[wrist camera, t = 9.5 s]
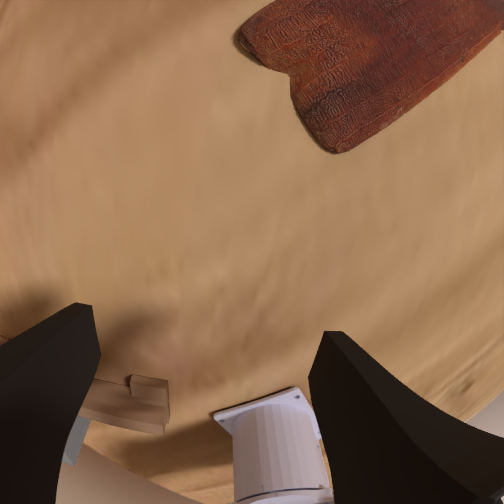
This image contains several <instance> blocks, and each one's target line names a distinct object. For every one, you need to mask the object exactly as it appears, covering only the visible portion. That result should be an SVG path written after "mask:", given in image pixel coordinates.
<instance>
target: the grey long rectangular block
mask: <svg viewBox="0 0 504 504" xmlns="http://www.w3.org/2000/svg"><path fill="white" fill-rule="evenodd" d="M90 421H91V419H87V418H84V417H81V416H79V414H78V415H77V417H76V420H75V422H74V424H73V427H72V429H71V431H70V434H69V437H68V440H67V443H66V446H65V450H64V454H63V458H62V462H64V463H67V464H70V465H73V466H75V463H76V460H77V458H78V455H79V452H80V449H81V446H82V443H83V440H84V437H85V435H86V432H87V429H88V427H89V424H90Z"/></svg>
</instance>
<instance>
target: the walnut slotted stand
mask: <svg viewBox="0 0 504 504" xmlns="http://www.w3.org/2000/svg"><path fill="white" fill-rule="evenodd" d="M7 341H9V339H7V338H4V337H2V336H0V345H2V344H4V343H6V342H7ZM78 414H79V416H81V417H84V418H87V419H91V420H94V421H98V422H101V423H105V424H109V425H113V426H117V427H121V428H126V429H130V430H135V431H140V432H145V433H150V434H155V435H161V436H164V431H165V426H166V423H167V424H169V418H170V409H169V392H168V381H167V380H160V379H154V378H149V377H143V376H138V375H132V377H131V380H130V387H128V386H124V385H119V384H115V383H110V382H106V381H102V380H98V379H93V382H92V384H91V386H90V388H89V390H88V393H87V395H86V397H85V399H84V402H83V404H82V406H81V408H80V411H79V413H78Z"/></svg>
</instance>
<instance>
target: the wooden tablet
mask: <svg viewBox="0 0 504 504" xmlns="http://www.w3.org/2000/svg"><path fill="white" fill-rule="evenodd" d="M501 30H504V1H503V0H276V1H274V2H272V3H270V4H269V5H267V6H265V7H264V8H262V9H261V10H260V11H258V12H257V13H256V14H255V15H253V16H252V17H251V18H250V19H249V20H247V21H246V22H245V24H244V25H243V26H242V27H241V29H240V31H239V38H238V40H239V42H240V44H241V45H242V46H243V47H244V48H245V49H246V50H247V51H248V52H250V53H251V54H252V55H253V56H254V57H255V58H256V59H257V60H259V61H260V62H261V63H262V64H263V65H264V66H266V67H268V68H269V69H272V70H274V71H278V72H282V73H286V74H288V75H289V77H290V93H291V97H292V99H293V101H294V105H295V107H296V109H297V111H298V113H299V115H300V116H301V118H302V119H303V121H304V122H305V124H306V125H307V127H308V128H309V130H310V131H311V132H312V134H313V135H314V137H315V138H316V139H317V140H318V141H319V142H320V144H321V145H322V146H323V147H324V148H325V149H327V150H329V151H334V152H337V153H344V152H346V151H350V150H351V149H353V148H354V147H356V146H358V145H359V144H360V143H362V142H364V141H365V140H367V139H368V138H370V137H372V136H374V135H375V134H377V133H378V132H380V131H381V130H383V129H384V128H386V127H387V126H389V125H390V124H391V123H393V122H394V121H395V120H397V119H398V118H399V117H401V116H402V115H403V114H404V113H407V112H408V111H410V110H411V109H412V108H413V107H414V106H415V105H417V104H418V103H420V102H421V101H422V100H423V99H425V98H426V97H428V96H429V95H430V94H431V93H432V92H434V91H435V90H436V89H438V88H439V87H440V86H441V85H442V84H443V83H445V82H446V81H448V80H449V79H450V78H451V77H453V76H454V75H455V74H456V73H457V72H458V71H459V70H460V69H461V68H462V67H464V66H465V65H466V64H467V63H468V62H469V61H470V60H471V59H473V58H474V57H475V56H476V55H477V54H478V53H479V52H480V51H481V50H483V49H484V48H485V47H486V46H487V45H488V44H489V43H490V42H491V41H493V40H494V38H495V37H497V36H498V35H499V34H500V33H501Z"/></svg>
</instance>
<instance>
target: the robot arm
mask: <svg viewBox="0 0 504 504" xmlns="http://www.w3.org/2000/svg"><path fill="white" fill-rule="evenodd" d="M100 356H101V353H100V348H99V343H98V338H97V333H96V327H95V322H94V316H93V309H92V305H86V304H81V303H73V304H71V305H69V306H67V307H66V308H64V309H62V310H60V311H59V312H57V313H55V314H53V315H52V316H50V317H48V318H47V319H45V320H43V321H42V322H40V323H38V324H37V325H35V326H33V327H32V328H30V329H29V330H27V331H25V332H23V333H22V334H20V335H18V336H16V337H14V338H13V339H11V340H9V341H7V342H6V343H4V344H2V345H0V504H55V502H56V491H57V484H58V478H59V473H60V467H61V463H62V458H63V454H64V450H65V446H66V443H67V440H68V437H69V434H70V431H71V429H72V427H73V424H74V422H75V420H76V417H77V415H78V413H79V411H80V408H81V406H82V404H83V402H84V399H85V397H86V395H87V393H88V390H89V388H90V386H91V384H92V382H93V379H94V376H95V373H96V370H97V366H98V363H99V360H100ZM308 380H309V388H310V395H311V401H312V406H313V410H314V411H313V410H312V408H311V406H310V405H309V403H308V401H307V400H306V398H305V397H304V395H303V393H302V392H301V390H300V389H299V388H297V387H293V388H290V389H288V390H285V391H282V392H279V393H277V394H274V395H271V396H268V397H265V398H262V399H259V400H256V401H253V402H250V403H247V404H244V405H240V406H237V407H234V408H230V409H227V410H223V411H220V412H216V413H215V414H214V419H215V420H216V421H217V422H218V423H219V424H220V425H221V426H222V427H223V428H224V429H225V430H226V431H227V432H228V433H229V434H230V435H231V436H233V475H234V503H228V504H503V502H502V500H501V497H502V496H504V438H502V437H499V436H496V435H493V434H490V433H488V432H485V431H482V430H480V429H477V428H475V427H473V426H470V425H468V424H466V423H464V422H462V421H460V420H458V419H456V418H454V417H452V416H450V415H449V414H447V413H445V412H443V411H442V410H440V409H438V408H437V407H435V406H434V405H432V404H431V403H429V402H428V401H426V400H424V399H423V398H422V397H420V396H419V395H417V394H416V393H415V392H413V391H412V390H411V389H409V388H408V387H407V386H406V385H404V384H403V383H402V382H400V381H399V380H398V379H397V378H395V377H394V376H393V375H392V374H391V373H389V372H388V371H387V370H386V369H385V368H384V367H383V366H381V365H380V364H379V363H378V362H377V361H376V360H375V359H373V358H372V357H371V356H370V355H369V354H368V353H367V352H366V351H365V350H363V349H362V348H361V347H360V346H359V345H358V344H357V343H356V342H355V341H353V340H352V339H351V338H350V337H349V336H347V335H346V334H345V333H344V332H342V331H324V333H323V336H322V339H321V342H320V345H319V348H318V351H317V354H316V357H315V359H314V362H313V365H312V368H311V370H310V373H309V376H308ZM319 439H322V441H323V444H324V448H325V451H326V454H327V458H328V462H329V466H330V471H331V477H332V484H333V491H334V499H333V495H332V491H331V488H329V480H328V476H327V472H326V468H325V464H324V460H323V456H322V452H321V448H320V444H319Z"/></svg>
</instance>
